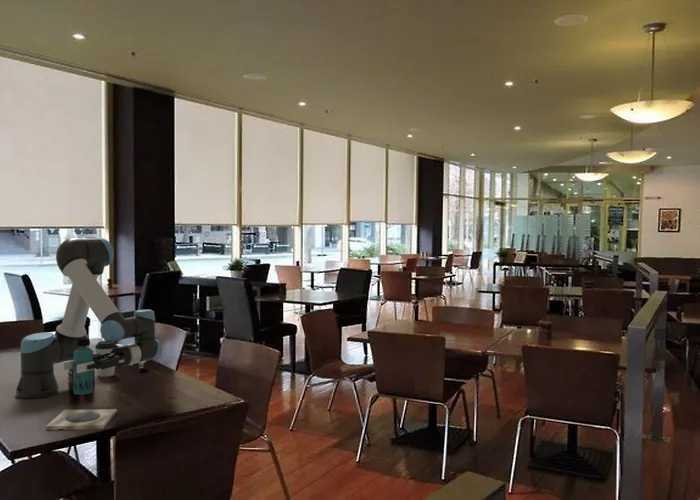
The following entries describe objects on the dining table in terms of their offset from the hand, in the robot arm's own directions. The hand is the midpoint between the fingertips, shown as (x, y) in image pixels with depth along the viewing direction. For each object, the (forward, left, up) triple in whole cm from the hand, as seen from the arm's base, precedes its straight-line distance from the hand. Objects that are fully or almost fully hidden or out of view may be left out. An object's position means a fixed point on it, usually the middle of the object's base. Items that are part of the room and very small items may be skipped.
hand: (70, 367), depth 207 cm
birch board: (+3, +4, -19) cm, 20 cm away
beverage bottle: (+3, +4, -11) cm, 12 cm away
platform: (+6, +79, -20) cm, 82 cm away
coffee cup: (-7, +69, -20) cm, 72 cm away
